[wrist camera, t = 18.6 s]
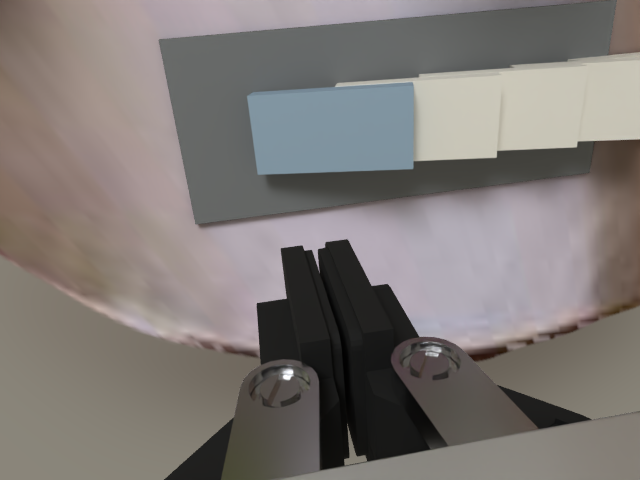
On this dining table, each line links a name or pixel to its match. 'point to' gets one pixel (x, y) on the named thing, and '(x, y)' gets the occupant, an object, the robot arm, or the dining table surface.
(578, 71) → the domino
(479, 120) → the domino
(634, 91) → the domino
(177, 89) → the mat
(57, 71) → the dining table surface
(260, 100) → the domino placed
